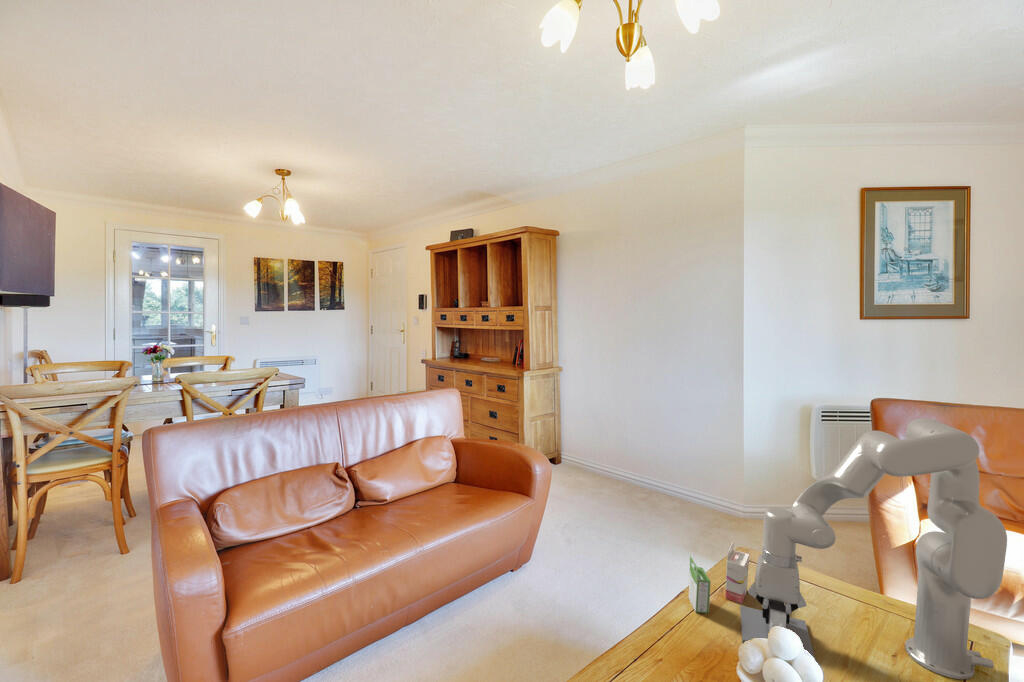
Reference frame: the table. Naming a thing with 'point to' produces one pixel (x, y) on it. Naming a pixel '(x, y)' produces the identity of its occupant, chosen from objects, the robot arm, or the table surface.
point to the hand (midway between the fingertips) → (775, 622)
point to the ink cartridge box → (736, 575)
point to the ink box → (699, 588)
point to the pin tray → (757, 628)
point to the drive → (776, 614)
